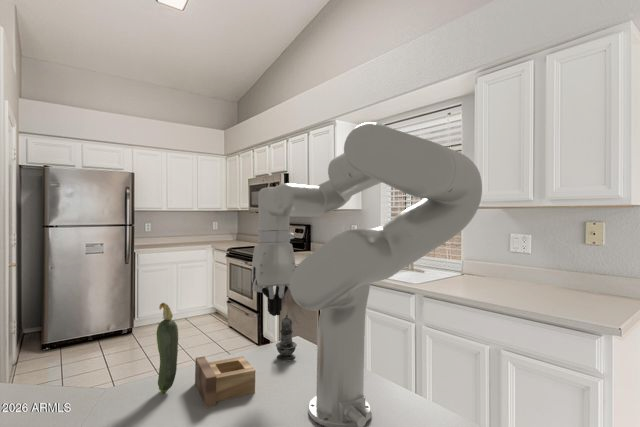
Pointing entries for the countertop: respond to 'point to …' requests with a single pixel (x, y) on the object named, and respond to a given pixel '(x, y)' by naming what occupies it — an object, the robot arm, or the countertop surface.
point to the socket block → (233, 378)
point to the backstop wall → (205, 381)
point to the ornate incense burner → (286, 341)
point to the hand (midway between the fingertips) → (274, 314)
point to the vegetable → (167, 349)
